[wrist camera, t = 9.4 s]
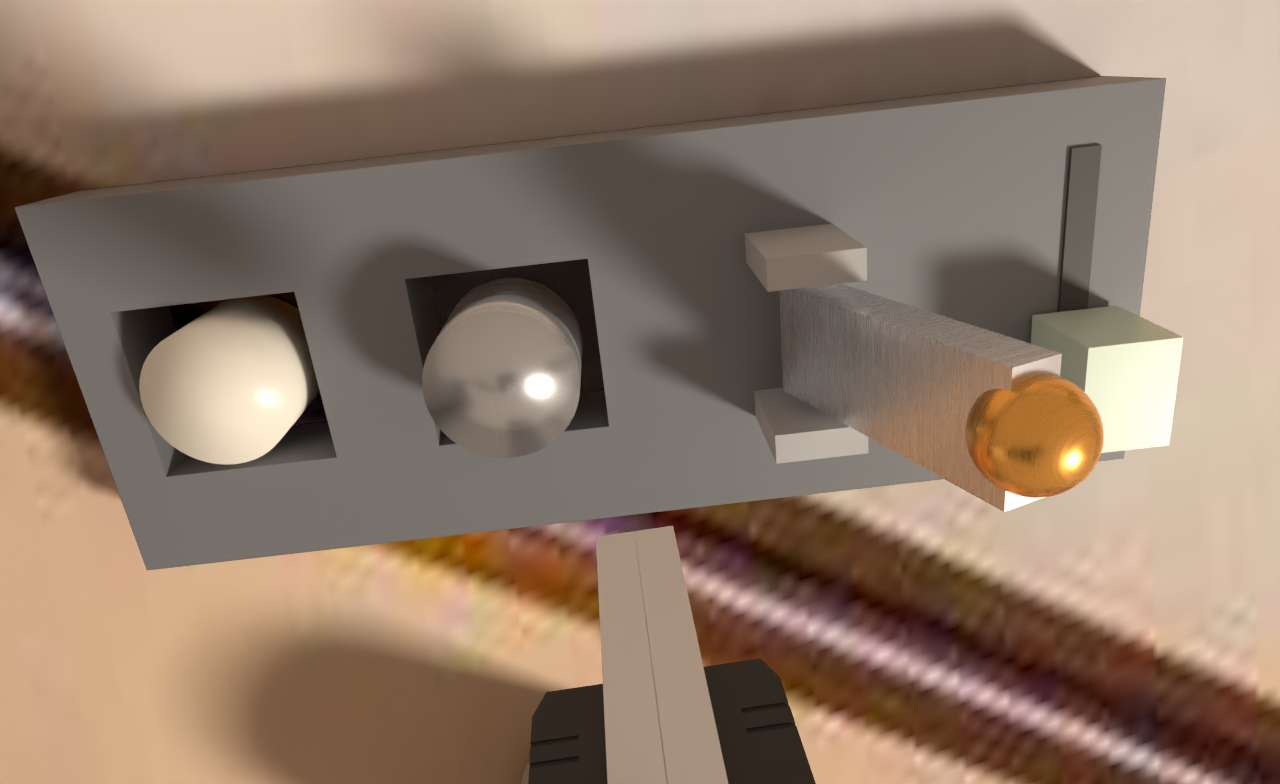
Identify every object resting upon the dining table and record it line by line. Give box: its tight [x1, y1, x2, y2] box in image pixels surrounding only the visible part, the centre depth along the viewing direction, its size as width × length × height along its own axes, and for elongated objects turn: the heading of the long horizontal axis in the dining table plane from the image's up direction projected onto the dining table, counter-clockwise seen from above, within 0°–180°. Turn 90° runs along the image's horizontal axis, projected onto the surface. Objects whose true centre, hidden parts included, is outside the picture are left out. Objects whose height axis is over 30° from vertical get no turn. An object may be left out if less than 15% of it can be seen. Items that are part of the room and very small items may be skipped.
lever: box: [779, 284, 1104, 512], centre depth 19 cm, size 2×3×9 cm
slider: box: [1031, 306, 1183, 453], centre depth 24 cm, size 2×3×3 cm
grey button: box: [422, 278, 582, 458], centre depth 24 cm, size 4×4×4 cm
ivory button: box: [139, 295, 320, 465], centre depth 25 cm, size 4×4×4 cm
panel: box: [14, 76, 1166, 570], centre depth 24 cm, size 30×11×6 cm, turn 96°
